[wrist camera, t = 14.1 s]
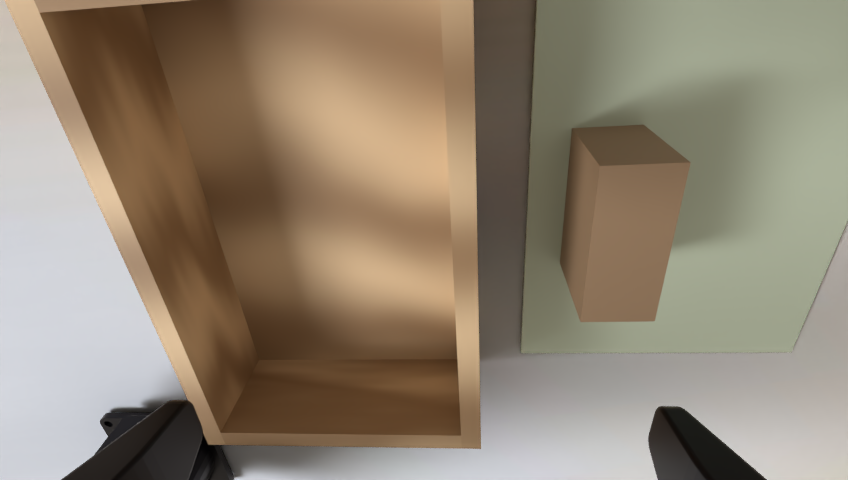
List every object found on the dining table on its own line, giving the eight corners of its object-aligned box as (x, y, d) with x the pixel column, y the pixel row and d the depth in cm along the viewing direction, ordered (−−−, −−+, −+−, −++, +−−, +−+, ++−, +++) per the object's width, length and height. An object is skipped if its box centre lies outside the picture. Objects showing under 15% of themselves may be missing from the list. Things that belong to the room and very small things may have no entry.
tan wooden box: (482, 362, 24) (494, 552, 16) (252, 363, 25) (157, 539, 17) (475, -272, 12) (502, -696, 5) (54, -216, 14) (-496, -478, 6)
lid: (780, 340, 23) (853, 423, 18) (519, 342, 24) (531, 420, 20) (980, -148, 13) (1214, -203, 9) (538, -106, 15) (569, -138, 10)
